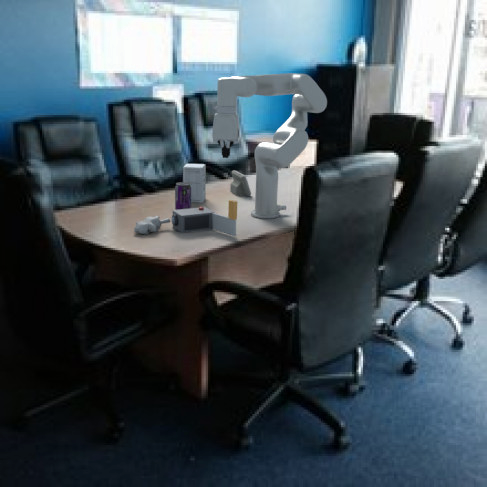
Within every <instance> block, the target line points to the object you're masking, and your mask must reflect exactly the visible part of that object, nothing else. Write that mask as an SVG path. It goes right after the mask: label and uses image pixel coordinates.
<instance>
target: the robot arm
mask: <svg viewBox="0 0 487 487" xmlns="http://www.w3.org/2000/svg"><path fill="white" fill-rule="evenodd" d="M216 91H217V95H216V97H217V98H216V99H217V102H216V104H217V105H216V106H213V111H216V113H214V117H213V121H212V122H213V125H212V133H211V134H212V142H213V143H217V144H218V145H219V146H220V147H221V156H222V159H228V158H229V157H230V156H231V147H233V145H236V144H240V120H239V114H238V113H237V107H238V106H237V103H238V102H237V100H238V99H237V98H238V97H241V98H250V97H253V96H254V95H256V96H264V97H266V96H267V97H275V96H285V95H293V96H292V99H291V100H292V101H291V113H290V116H289V118H288V119H287V120H286V121H285V122H284V123H283V124H282V125H281V126H280V127H279V128H277V130H276V131H275V132H274V133H273V137H272V141H273V142H270V141H262V142H260V143H259V144H257V146H256V147H255V149H254V160H255V171H256V173H255V176H256V177H255V196H254V198H255V200H254V209H253V210H252V211H251V213H250V215H251V216H252V217H254V218H259V219H268V220H269V219H277V218H279V217H280V216H281V212H280V211H286V210H287V205H286V204H285V205H281V204H278V187H279V170H278V169H285V168H287V167H289V166H290V165H291V164H292V163H293V162H294V161H295V160H296V159H297V158H298V157H299V156H300V155H301V154H302V153H303V152H304V151H305V149H306V148H307V146H308V143H309V135H308V132H307V131H305V130H306V128H307V127H308V113H314V114H319V113H322V112H324V111H325V109H327V105H328V99H327V96H326V94H325V92H324V91H323V90H322V89H321V88H320V87H319V85H318V83H317V82H316V81H315V80H314V79H313V78H312V76H310V75H309V74H306V73H297V72H296V73H293V72H292V73H291V72H288V73H270V74H268V73H267V74H257V75H256V74H253V75H236V76H233V75H232V76H231V77H220V78H218V79H217V90H216Z"/></svg>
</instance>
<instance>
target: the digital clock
mask: <svg viewBox="0 0 487 487" xmlns="http://www.w3.org/2000/svg"><path fill="white" fill-rule="evenodd" d="M231 176H232V179H233V180H232V182H230V186H229V187H230V188H229V189H230V190H229V191H230V193H231V192H232V194H233V195H234V196H237V195H242V196H246V197H250V196H252V192H251V191H252V190H251V188H250V185H249V182H248V178H247V176H246V175H245V174H243V173H241V172H239V171H237V170H232V171H231ZM237 197H238V196H237Z"/></svg>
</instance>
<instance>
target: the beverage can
mask: <svg viewBox="0 0 487 487" xmlns="http://www.w3.org/2000/svg"><path fill="white" fill-rule="evenodd" d="M174 205H175V206H174V210H180V209H190V208H192V202H191V186H190V183H187V182H183V181H182V182H181V181H180V182H176V183H175V186H174Z"/></svg>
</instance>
